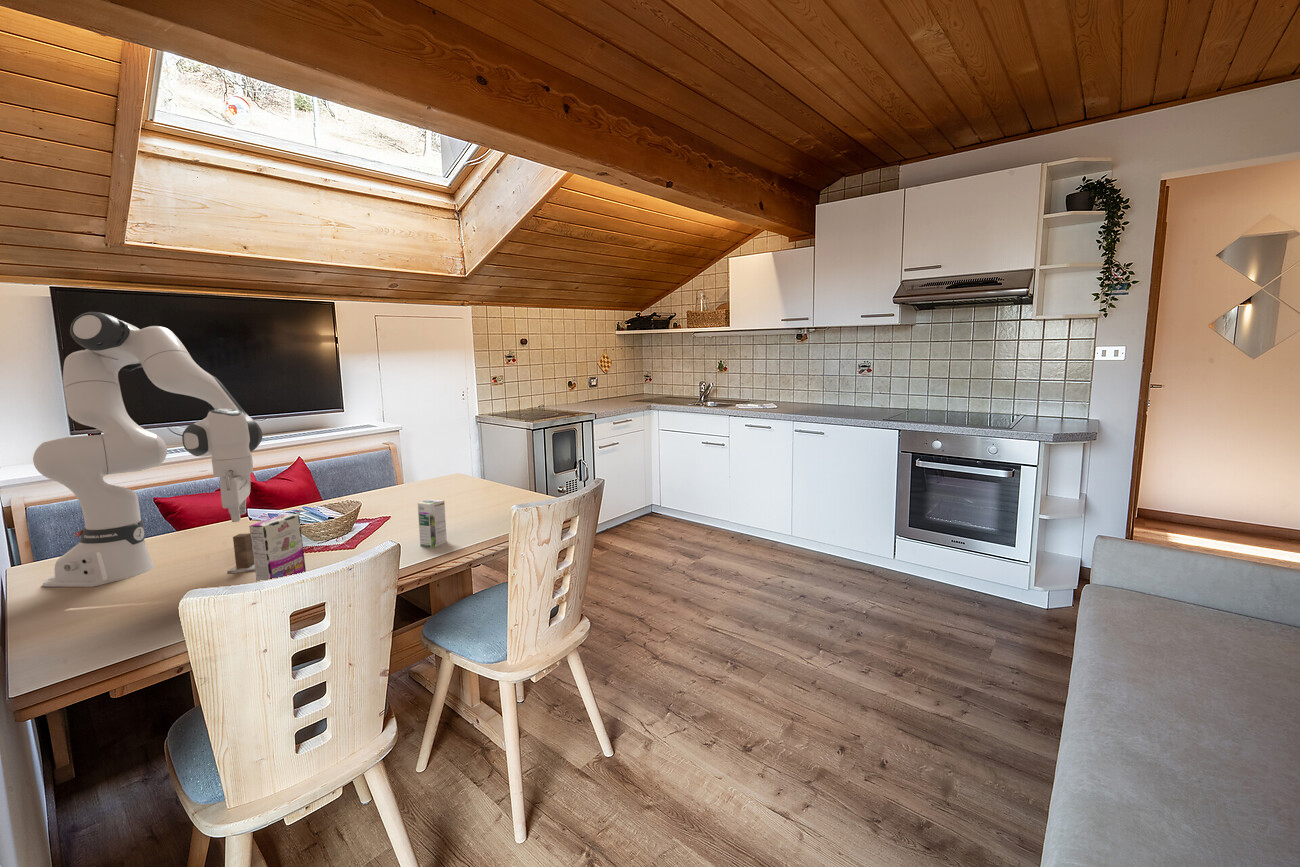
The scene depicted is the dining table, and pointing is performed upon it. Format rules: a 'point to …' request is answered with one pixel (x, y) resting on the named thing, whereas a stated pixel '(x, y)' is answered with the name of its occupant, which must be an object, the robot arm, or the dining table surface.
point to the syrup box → (432, 523)
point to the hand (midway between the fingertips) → (239, 517)
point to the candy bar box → (277, 547)
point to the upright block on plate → (243, 554)
